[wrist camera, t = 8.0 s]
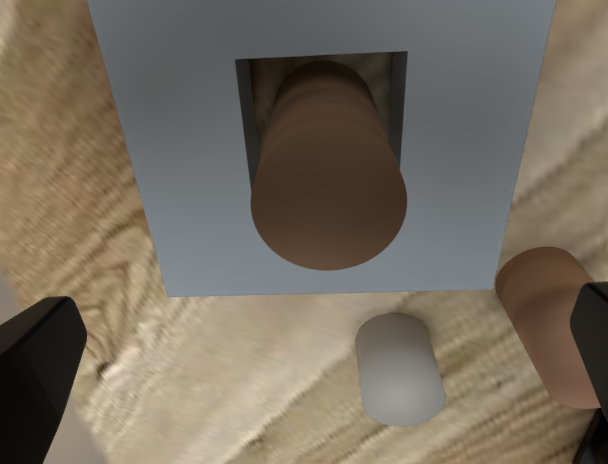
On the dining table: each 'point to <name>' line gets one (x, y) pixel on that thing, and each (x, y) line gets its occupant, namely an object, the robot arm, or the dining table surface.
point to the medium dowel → (548, 319)
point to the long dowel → (327, 173)
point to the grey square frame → (402, 130)
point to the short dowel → (398, 371)
